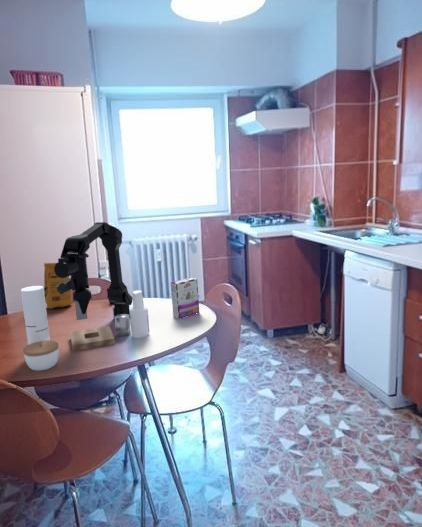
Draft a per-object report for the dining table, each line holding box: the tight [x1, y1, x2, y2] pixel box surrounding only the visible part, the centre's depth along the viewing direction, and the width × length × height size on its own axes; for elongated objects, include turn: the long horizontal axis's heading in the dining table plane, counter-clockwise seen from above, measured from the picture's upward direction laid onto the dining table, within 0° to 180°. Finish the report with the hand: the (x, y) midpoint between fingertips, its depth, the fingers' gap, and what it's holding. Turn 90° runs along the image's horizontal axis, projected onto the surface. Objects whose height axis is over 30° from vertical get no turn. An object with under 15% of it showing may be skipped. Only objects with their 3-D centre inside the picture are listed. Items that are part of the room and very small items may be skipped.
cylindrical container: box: [20, 285, 51, 345], centre depth 146 cm, size 7×7×25 cm
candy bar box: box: [170, 277, 200, 320], centre depth 184 cm, size 11×5×16 cm, turn 129°
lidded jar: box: [22, 339, 60, 372], centre depth 139 cm, size 11×11×9 cm
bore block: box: [69, 325, 116, 352], centre depth 160 cm, size 15×15×3 cm
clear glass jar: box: [114, 314, 132, 338], centre depth 165 cm, size 6×6×8 cm
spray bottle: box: [129, 290, 150, 339], centre depth 162 cm, size 7×7×18 cm
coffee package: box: [43, 262, 73, 309], centre depth 209 cm, size 10×12×22 cm
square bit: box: [74, 301, 88, 321], centre depth 157 cm, size 4×4×8 cm
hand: (83, 312), depth 158 cm, fingers closed on square bit, 4 cm apart
